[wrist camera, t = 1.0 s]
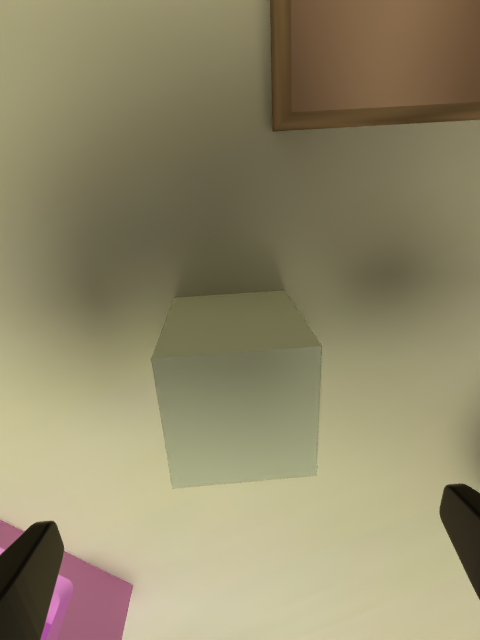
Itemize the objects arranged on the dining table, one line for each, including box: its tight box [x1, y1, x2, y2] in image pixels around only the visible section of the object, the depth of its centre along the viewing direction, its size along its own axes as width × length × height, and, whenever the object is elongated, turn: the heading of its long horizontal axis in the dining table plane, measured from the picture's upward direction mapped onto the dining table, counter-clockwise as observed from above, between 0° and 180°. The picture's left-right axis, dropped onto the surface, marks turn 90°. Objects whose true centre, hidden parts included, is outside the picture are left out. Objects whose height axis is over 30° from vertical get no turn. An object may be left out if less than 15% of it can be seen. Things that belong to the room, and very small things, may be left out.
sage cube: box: [151, 290, 322, 489], centre depth 14 cm, size 5×5×6 cm
